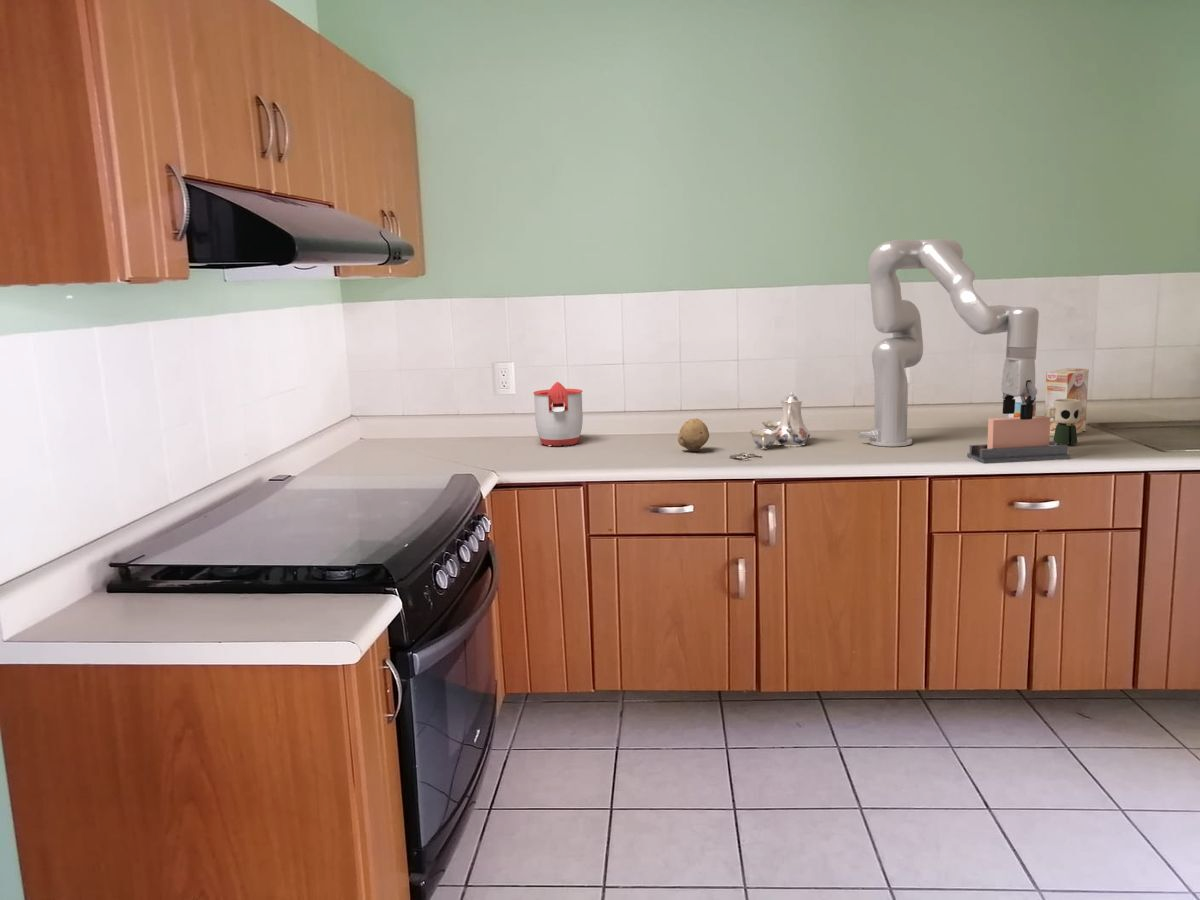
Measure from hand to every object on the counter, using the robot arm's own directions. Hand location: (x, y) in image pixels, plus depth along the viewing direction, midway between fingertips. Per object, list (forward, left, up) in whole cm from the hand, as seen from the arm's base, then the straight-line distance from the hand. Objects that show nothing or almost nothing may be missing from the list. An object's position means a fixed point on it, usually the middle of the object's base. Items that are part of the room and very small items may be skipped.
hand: (1017, 416), depth 279 cm
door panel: (0, -1, -10) cm, 10 cm away
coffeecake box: (+32, +33, -12) cm, 47 cm away
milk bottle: (+18, +33, -12) cm, 39 cm away
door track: (0, 0, -11) cm, 11 cm away
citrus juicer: (-122, +59, -12) cm, 135 cm away
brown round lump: (-83, +34, -12) cm, 90 cm away
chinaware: (-55, +39, -12) cm, 68 cm away
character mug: (+22, +15, -12) cm, 29 cm away
